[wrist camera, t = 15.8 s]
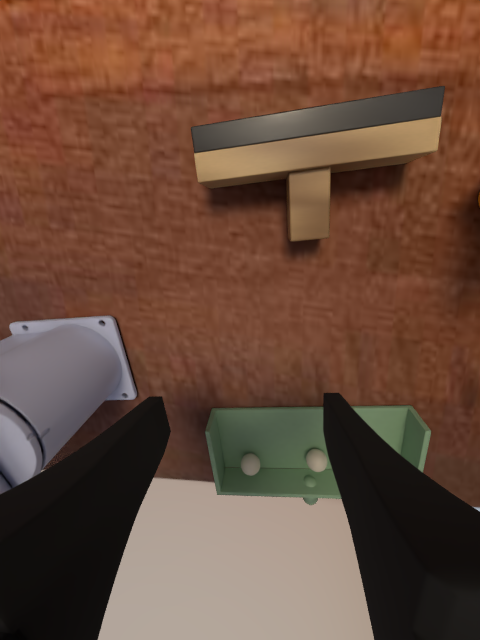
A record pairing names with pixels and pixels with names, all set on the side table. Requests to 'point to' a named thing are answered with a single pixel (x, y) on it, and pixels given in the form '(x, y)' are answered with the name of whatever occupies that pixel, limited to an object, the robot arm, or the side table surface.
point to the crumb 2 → (316, 460)
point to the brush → (318, 149)
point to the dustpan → (297, 447)
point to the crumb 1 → (250, 464)
